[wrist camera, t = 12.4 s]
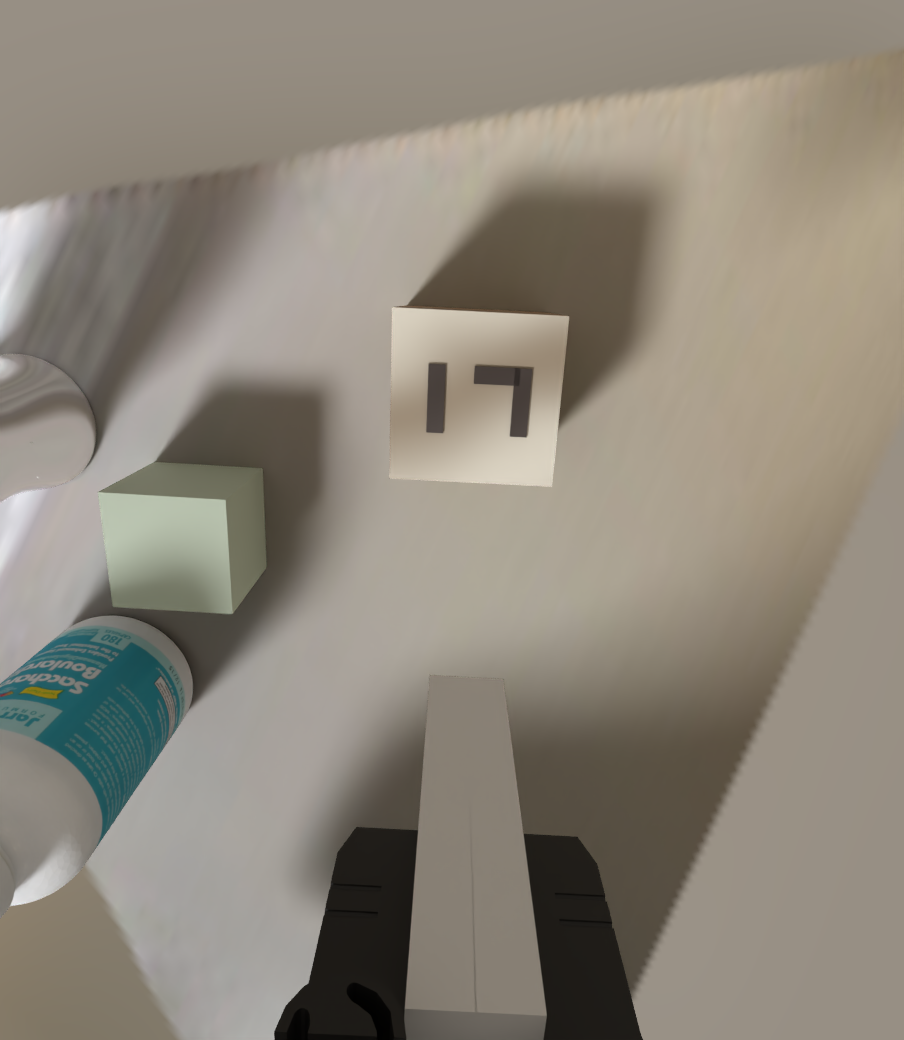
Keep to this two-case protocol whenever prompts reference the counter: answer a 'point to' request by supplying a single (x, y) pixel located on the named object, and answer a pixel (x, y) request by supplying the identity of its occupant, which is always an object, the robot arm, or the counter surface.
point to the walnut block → (475, 394)
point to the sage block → (184, 537)
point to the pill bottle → (80, 745)
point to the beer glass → (41, 426)
